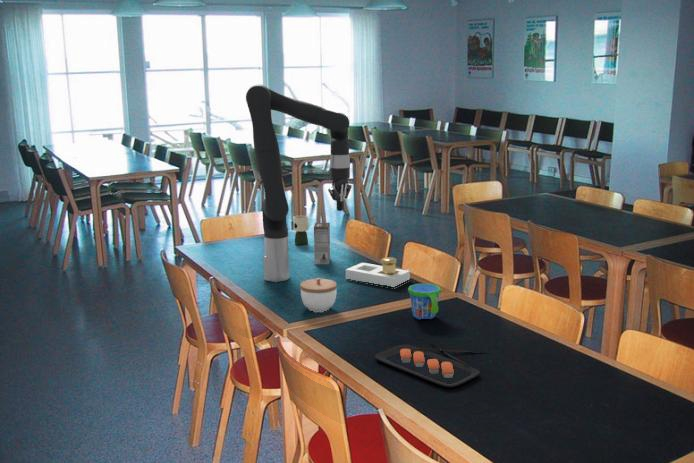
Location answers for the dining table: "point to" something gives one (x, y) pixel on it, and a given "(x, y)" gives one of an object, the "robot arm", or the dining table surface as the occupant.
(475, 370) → the sushi plate
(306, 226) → the character mug
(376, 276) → the frame
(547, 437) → the dining table surface
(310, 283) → the lidded bowl
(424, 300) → the snack cup
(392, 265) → the gold piece
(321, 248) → the coffee box
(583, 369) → the dining table surface
